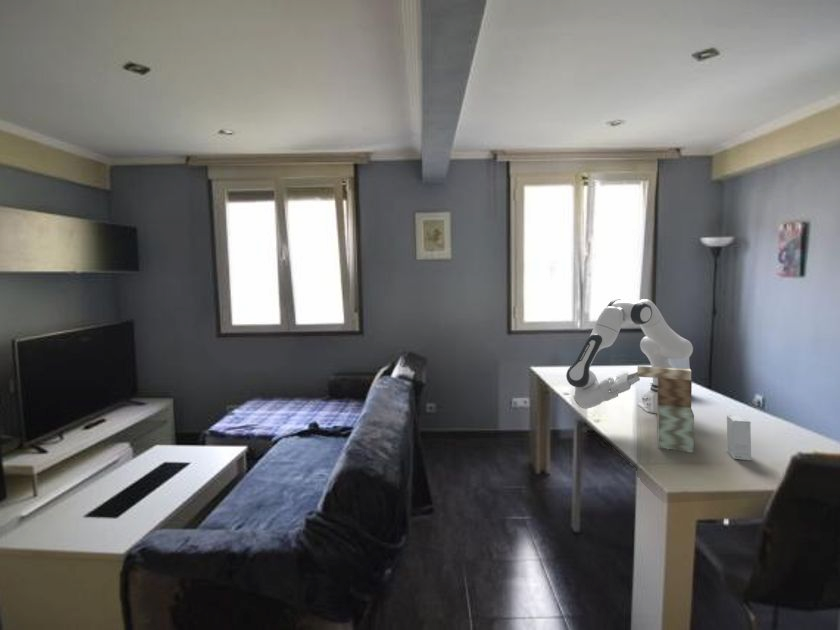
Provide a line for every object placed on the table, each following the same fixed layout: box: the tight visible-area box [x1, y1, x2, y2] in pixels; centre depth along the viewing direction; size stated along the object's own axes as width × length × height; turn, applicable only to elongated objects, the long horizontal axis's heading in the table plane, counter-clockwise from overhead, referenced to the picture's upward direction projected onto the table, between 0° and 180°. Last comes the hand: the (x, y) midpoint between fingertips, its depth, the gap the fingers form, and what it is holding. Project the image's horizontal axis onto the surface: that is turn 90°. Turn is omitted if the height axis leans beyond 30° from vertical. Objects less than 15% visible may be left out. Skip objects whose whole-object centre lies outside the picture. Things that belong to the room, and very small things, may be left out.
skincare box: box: [726, 415, 752, 462], centre depth 166 cm, size 8×6×15 cm
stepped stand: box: [656, 378, 695, 453], centre depth 181 cm, size 12×20×26 cm, turn 153°
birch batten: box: [636, 365, 692, 381], centre depth 187 cm, size 20×4×4 cm, turn 63°
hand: (639, 375), depth 191 cm, fingers open, 8 cm apart
